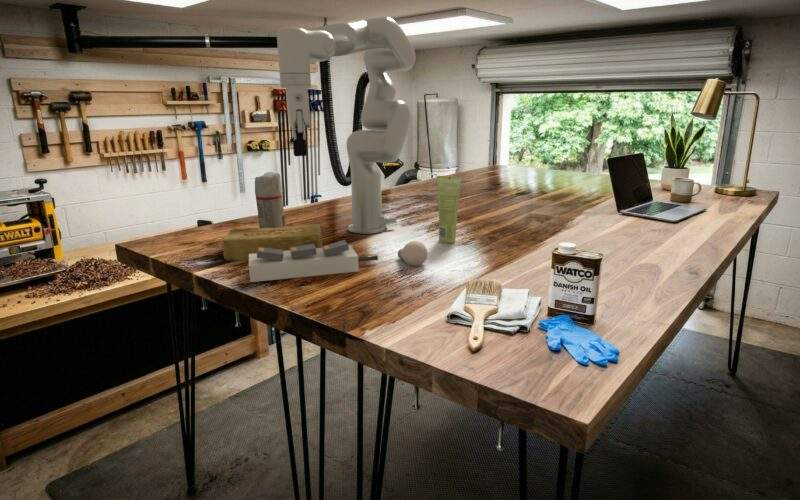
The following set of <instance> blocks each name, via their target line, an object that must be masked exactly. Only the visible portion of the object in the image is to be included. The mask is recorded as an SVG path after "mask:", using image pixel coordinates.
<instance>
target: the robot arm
mask: <svg viewBox="0 0 800 500" xmlns="http://www.w3.org/2000/svg"><path fill="white" fill-rule="evenodd" d="M276 40H277V41H276V42H277V43H276V44H277V54H278V55H277V57H278V68H279V81H280V84H279V85H280V88H281V89H285V97H286V110H287V111H286V113H287V118H288V123H289V124H288V125H289V127H290V128H292V137H293V140H292V146H293V147H292V148H293V156H294V157H307V155H308V154H307V153H308V151H307V140H306V131H305V130H306V128H307V129H310V128H311V126H312V123H311V113H310V101H309V92H308V88H312V84H311V83H312V81H311V80H312V79H311V63H315V62H316V63H317V62H325V61H328V60H330V59H332V58H333V57H344V56H348V55H353V54H355V53H360V52H363V51H364V53H363V62H364V65H365V68H366V73H367V76H368V79H369V89H368V92H367V96H366V98H365V102H364V105H363V107H362V111H361V114H360V124H361V126H362V127H363V128H364V129H362V130H360V129H359V130H355V131H354V132H352V133H351V134H350V135H349V136H348V137H347V140H346V151H347V155H348V160H349V167H350V179H351V180H350V181H351V182H350V185H351V186H350V187H351V189H350V190H351V211H352V212H351V213H352V223H350V224H349V225H348V226H347V229H348V232H351V233H353V234H360V235H361V234H363V235H364V234H365V235H367V234H368V235H369V234H370V235H372V234H378V233H383V232H384V231H386V230H387V227H388V226H387V225H388V223H389V224H393V223H397V217H396V216H390V215H389V216H388V215H387V216H384V215H383V214H382V213H383V212H382V211H383V210H382V204H383V203H382V175H381V171H380V168H379V166H378V165H377V164H376V163H383V164H389V163H390V164H391V163H395V162H397V160H399V158H400V156H401V153H402V151H403V148H404V145H405V142H406V137H407V135H408V131H409V128H410V124H411V110H410V106H409V105H408V103H406V102H405V101H403V100H401V99H395V96H396V87H395V84H394V82H393V80H392V78H391V77H390V76H389V74H388V73H389V72H406V71H410V70H411V69H412V68H413V67H414V65H415V63H416V59H417V57H416V50H415V47H414V46H413V44H412V42H411V41H410V39H409V37H408V36H407V35H406V33H405V32H404V30H403V29H402V28H401V26H400V25H399V24H398V22H397V21H395V20H394V18H392V17H389V16H380V17H378V16H377V17H369V18H368V17H367V18H360V19H359V18H358V19H353V20H349V21H343V22H337V23H332V24H327V25H324V26H318V27H313V28H307V29H304V28H302V27H292V26H291V27H289V26H288V27H282V28H279V29H278V30H277V33H276Z"/></svg>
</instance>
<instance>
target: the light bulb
mask: <svg viewBox="0 0 800 500" xmlns="http://www.w3.org/2000/svg"><path fill="white" fill-rule="evenodd" d="M428 255H429V254H428V248H427V246H426V245H425V244H424V243H423V242H421V241H418V240H411V241H409V242H407V243H405V245H404V246H403V248H400V249H399V250H398V252H397V257H398V258H399V259H401V260H404V262H405V263H406V264H407V265H409V266H412V267H417V266H418V267H419V266H422V265H423V264H424V263H425V262H426V261H427V259H428Z"/></svg>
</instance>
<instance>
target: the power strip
mask: <svg viewBox="0 0 800 500" xmlns="http://www.w3.org/2000/svg"><path fill="white" fill-rule="evenodd" d="M348 248H349V250H347V251H344V252H340V253H337V254H334V255H330V256H327V257H325V254H324V252H323V249H322V248H316V253H317V254H316V255H310V256H304V257H297V258H292V257H291V252H290V250H289V251H283V254H284V255H283V261H280V260H271V259H261V258H257V253H254V254H249V260H248V271H249V281H250V283H256V282H265V281H266V282H267V281H275V280H276V281H277V280H287V279H295V278H297V279H298V278H306V277H317V276H327V275H334V274H336V275H337V274H346V273H355V272H356V273H357V272H359V271H360V270H359V262H370V261H371V262H372V261H378V260H379V256H378V255H377V254H375V255H367V256H359V255H358V254H357V252H356V250H355V249H354V248H353V246H352V245H350V244H349V245H348Z"/></svg>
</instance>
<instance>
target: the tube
mask: <svg viewBox="0 0 800 500" xmlns="http://www.w3.org/2000/svg"><path fill="white" fill-rule="evenodd" d="M435 178H436V185H437V186H436V187H437V198H438V199H437V202H438V203H437V204H438V241H439V242H440V243H443V244H444V243H446V244H450V243H455V242H456V236H457V235H456V234H457V222H458V210H459V203H460V201H459V200H460V193H461V188H462V187H461V186H462V182H463V176H446V175H436V177H435Z"/></svg>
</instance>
